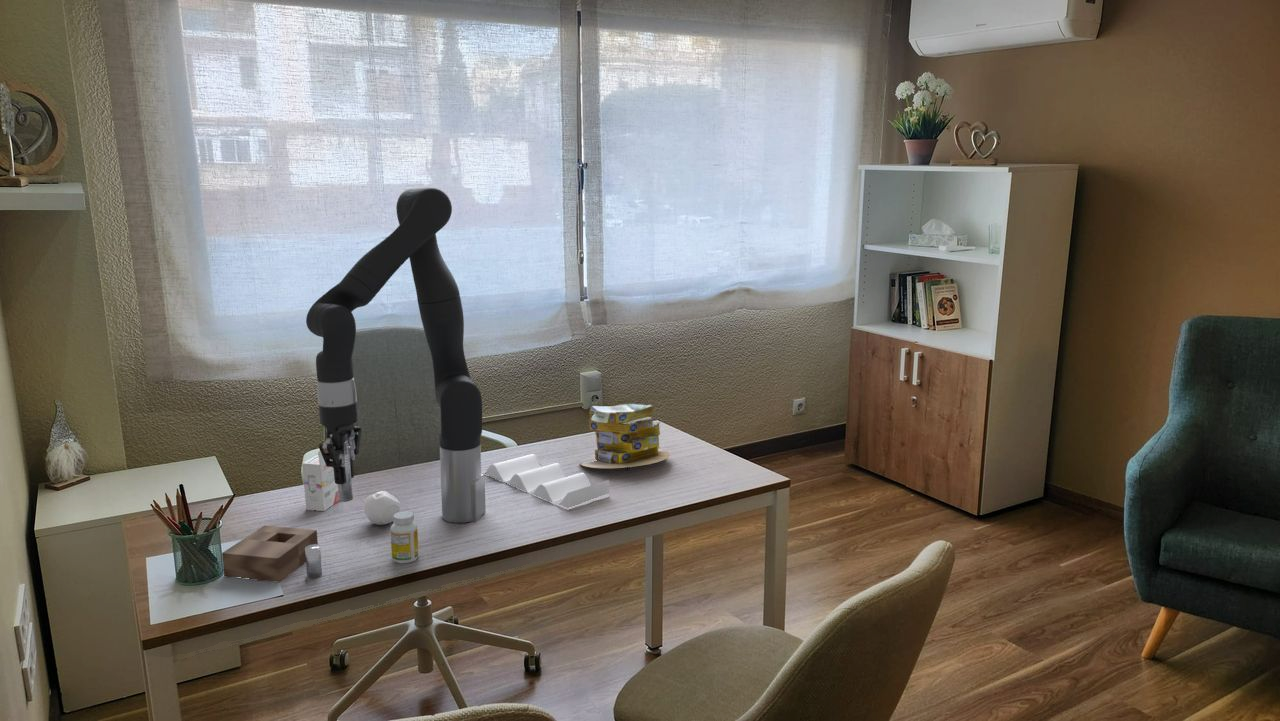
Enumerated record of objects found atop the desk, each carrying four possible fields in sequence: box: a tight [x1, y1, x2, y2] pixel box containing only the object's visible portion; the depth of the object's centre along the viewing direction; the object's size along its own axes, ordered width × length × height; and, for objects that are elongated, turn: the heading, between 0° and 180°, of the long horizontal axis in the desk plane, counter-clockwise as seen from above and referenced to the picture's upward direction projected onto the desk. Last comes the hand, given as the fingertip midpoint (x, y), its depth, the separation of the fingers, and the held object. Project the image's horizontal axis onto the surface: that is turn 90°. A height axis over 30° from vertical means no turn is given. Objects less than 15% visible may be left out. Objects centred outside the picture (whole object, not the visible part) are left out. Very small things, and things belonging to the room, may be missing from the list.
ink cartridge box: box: [301, 450, 340, 512], centre depth 207 cm, size 9×5×15 cm, turn 168°
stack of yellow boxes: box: [580, 402, 671, 469], centre depth 239 cm, size 25×25×17 cm
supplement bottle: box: [390, 510, 419, 564], centre depth 179 cm, size 5×5×10 cm
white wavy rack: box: [484, 453, 610, 508], centre depth 223 cm, size 13×35×5 cm, turn 44°
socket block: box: [221, 525, 319, 583], centre depth 176 cm, size 12×14×5 cm
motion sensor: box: [363, 490, 401, 526], centre depth 197 cm, size 8×8×8 cm
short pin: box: [305, 544, 323, 580], centre depth 172 cm, size 3×3×6 cm
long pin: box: [335, 441, 354, 503], centre depth 181 cm, size 3×3×13 cm
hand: (344, 480), depth 181 cm, fingers closed on long pin, 2 cm apart
